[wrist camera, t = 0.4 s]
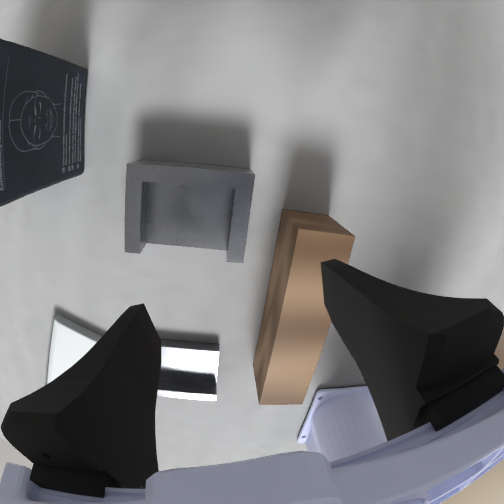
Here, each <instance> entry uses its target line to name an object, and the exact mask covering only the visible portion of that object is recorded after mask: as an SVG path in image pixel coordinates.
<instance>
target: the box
mask: <svg viewBox="0 0 504 504" xmlns="http://www.w3.org/2000/svg"><path fill="white" fill-rule="evenodd" d="M86 80H87V69H85V68H82V67H80V66H78V65H75V64H72V63H70V62H67V61H65V60H62V59H59V58H57V57H54V56H51V55H48V54H46V53H43V52H40V51H37V50H34V49H31V48H29V47H25V46H22V45H19V44H16V43H13V42H10V41H5V40H2V39H0V207H1V206H4V205H6V204H8V203H11V202H12V201H15V200H17V199H19V198H21V197H24V196H26V195H28V194H31V193H34V192H36V191H38V190H41V189H43V188H47V187H49V186H51V185H54V184H57V183H59V182H61V181H64V180H67V179H70V178H73V177H76V176H79V175H81V174H82V173H83V171H84V157H83V141H84V108H85V92H86Z"/></svg>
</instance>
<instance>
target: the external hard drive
mask: <svg viewBox="0 0 504 504" xmlns="http://www.w3.org/2000/svg"><path fill="white" fill-rule="evenodd" d="M101 337H102V336H101V335H99V334H97V333H94V332H92V331H90V330H88V329H86V328H84V327H82V326H80V325H78V324H76V323H75V322H73V321H71V320H69V319H67V318H65V317H63V316H61V315H60V314H57V316H56V317H55V319H54V325H53V332H52V340H51V347H50V356H49V366H48V379H47V384H48V383H50V382H51V381H53V380H54V379H56V378H57V377H58V376H60V375H61V374H62V373H64V372H65V371H66V370H68V369H69V368H70V367H71V366H73V365H74V364H75V363H76V362H77V361H78V360H80V359H81V358H82V357H83V356H84V355H85V354H86V353H87V352H88V351H89V350H90V349H91V348H92V347H93V346H94V345H95V344H96V343H97V342H98V341H99V340H100V338H101Z"/></svg>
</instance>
